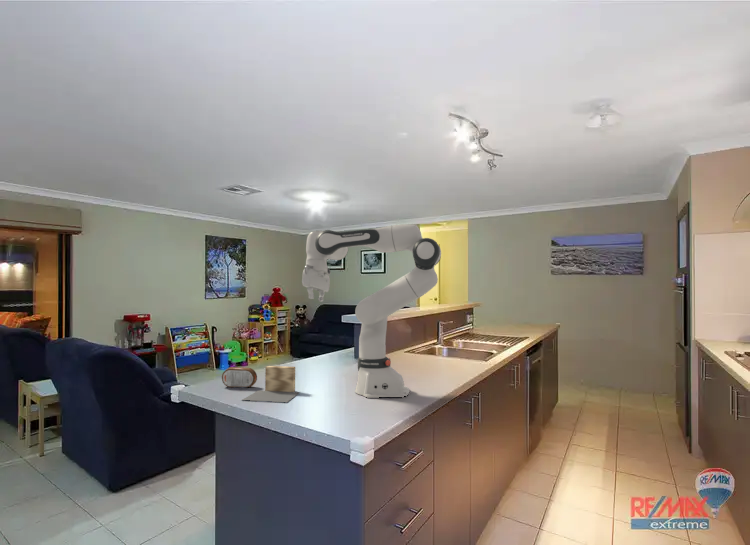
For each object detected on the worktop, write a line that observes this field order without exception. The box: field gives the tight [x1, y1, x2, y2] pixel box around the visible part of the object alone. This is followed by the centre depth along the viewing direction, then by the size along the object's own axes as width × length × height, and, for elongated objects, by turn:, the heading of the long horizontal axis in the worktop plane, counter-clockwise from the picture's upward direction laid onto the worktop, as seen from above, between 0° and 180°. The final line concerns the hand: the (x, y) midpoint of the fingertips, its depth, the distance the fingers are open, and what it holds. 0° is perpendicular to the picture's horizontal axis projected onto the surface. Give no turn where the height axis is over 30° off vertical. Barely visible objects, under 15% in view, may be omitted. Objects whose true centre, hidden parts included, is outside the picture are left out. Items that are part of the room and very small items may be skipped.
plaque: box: [264, 365, 296, 392], centre depth 155 cm, size 12×3×10 cm, turn 81°
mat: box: [242, 389, 300, 404], centre depth 146 cm, size 18×13×1 cm
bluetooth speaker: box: [221, 366, 258, 388], centre depth 160 cm, size 15×3×8 cm, turn 84°
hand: (316, 300), depth 158 cm, fingers open, 8 cm apart
